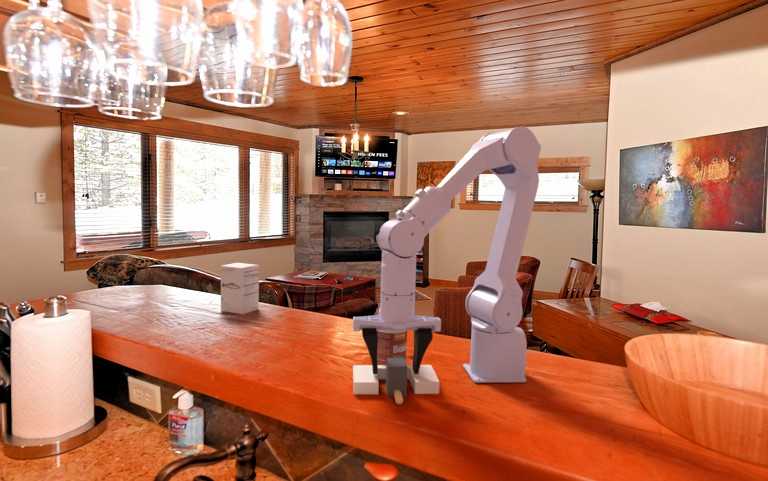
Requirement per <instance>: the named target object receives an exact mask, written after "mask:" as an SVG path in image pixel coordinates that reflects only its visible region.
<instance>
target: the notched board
mask: <svg viewBox="0 0 768 481" xmlns="http://www.w3.org/2000/svg"><path fill="white" fill-rule="evenodd" d="M379 380H386V365H378V374H373V368H372V364H363V365H361V364H359V365H358V364H356V365H355V364H354V365H352V383H353V385H352V386H353V387H352V388H353V390H354V391H353V395H379V387H380V386H379ZM407 380H409V381H410V384H411V386H412V389H413V393H414V395H415V394H416V395H425V394H427V395H428V394H429V395H431V394H432V395H433V394H434V395H435V394H437V395H439V394H440V385H441V384H440V380H439V377H438V376H437V374H436V372H435V369H434V368H433V366H432V364H421V365H420V368H419V374H414V372H413V364H407Z"/></svg>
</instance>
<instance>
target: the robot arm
mask: <svg viewBox="0 0 768 481" xmlns="http://www.w3.org/2000/svg"><path fill="white" fill-rule="evenodd" d="M541 150H542V146H541V144H540V142H539V140H538V139H537V137H536V135H535V134H534V132H533V131H532V130H531V129H529V128H528V127H526V126H516V127H514V128H512V129H506V130H502V131H498V132H489V133H486V134H484V135H483V136H481V138H480V139H479V141H476V142H475V143H473V145H472V146H471V148H470V149H469V150H468V152H466V154H465V155H464V156H463V157H462V158H461V159H460V160H459V161H458V163H457V164H456V165H455V166H454V167H453V168H452V169H451V171H449V172H448V174H447V175H446V176H445V177H444V178H443V179H442V180H441V181H440V182H439V183H438V185H437V186H425V188H419V189H417V191H415V193H414V195H415V197H414V198H413V199H412V200H411V201H410V202H409V204H407V205H406V207H404V208H403V209H402V210H401V209H398V210H397V212H395V214H394V215H395V216H396V217H395V218H396V219H390V220H388V221H386V222H384V223H383V224H382V225H381V227H380V229H379V233H378V234H377V235H376V236H375V237H376V242H377V245H378V247H379V248H380V250H381V265H380V266H381V269H380V302H379V303H380V304H379V305H380V306H379V309H380V315H379V314H377V315H367V316H366V315H364V316H353V317H352V319H353V320H352V331H353V332H360V331H361V335H362V338H363V341H364V343H365V346H366V348H367V350H368V351H367V352H368V354H369V356H370V359H371V360H370V361H371V363H372V364H371V365H372V368H373V374H378V365H377V347H378V336H377V330H407V331H413V355H412V356H413V357H412V365H413V372H414V374H419V368H420V365H422V364H421V363H422V362H423V358H424V355H425V354H426V351H427V349H428V348H429V346H430V344H431V343H432V341H433V338H434V337H433V336H434V334H433V332H441V331H442V330H441V329H442V319H441V318H440V317H437V316H424V315H423V316H422V315H415V304H416V278H417V276H416V275H417V272H416V271H417V253H418V252H421V250H422V248H423V246H424V244H425V238H426V236H428V234H430V233H431V231H432V230H434V228H436V226H437V225H438V224H440V222H441V221H442V220H443V219H445V217H446V216H447V215H448V214H449V213H450V212H451V210H452V200H453V199H455V197H457V195H459V194H460V193H461V192H463V190H464V189H466V188H467V187H468V186H469V185H470V184H471V183H472V182H473V181H474V180H476V178H478V177H479V176H480V175H481V174H482V173H483V172H484V171H487V170H488V171H490V172H491V173H492V174H494V175H495V176H496V177H497V178H498V179H499V180H500V182H501V183H502V185H503V187H504V192H503V196H502V200H501V205H500V209H499V212H498V216H497V221H496V226H495V230H494V233H493V237H492V241H491V246H490V248H489V249H490V250H489V254H488V257H487V262H486V266H485V270H483V272H482V273H481V274H480V275H479V276H477V277H475V280H474V284H473V286H472V288H471V289H470V291H469V292H468V294H467V295H466V298H465V304H464V306H465V310H466V312H467V314H468V315H469V316H470V322H471V333H470V334H471V336H470V337H471V338H470V356H469V357H470V358H469V363H463V364H462V367H463V369H465V371H466V372H467V374H468V375H469V377H470V378H471V380H472V381H473V382H474V383H475V384H476V383H477V384H478V383H479V384H480V383H485V384H486V383H526V382H527V378H526V366H527V365H526V364H527V349H528V348H527V346H528V345H527V336H526V334H525V331H524V329H522V328H521V327H518V325H519V324H520V322H521V320H522V319H523V318H522V317H523V306H522V305H523V304H522V299H523V295H524V292H523V289H522V287H521V286H520V284H519V282H518V281H517V279H516V278H517V274H518V270H519V266H520V262H521V258H522V253H523V249H524V246H525V242H526V238H527V233H528V230H529V226H530V222H531V217H532V213H533V209H534V205H535V201H536V196H537V193H538V188H539V184H540V177H539V168H538V162H539V157H540V152H541ZM432 331H433V332H432Z"/></svg>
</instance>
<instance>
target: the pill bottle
mask: <svg viewBox="0 0 768 481" xmlns="http://www.w3.org/2000/svg"><path fill="white" fill-rule="evenodd" d="M378 315H380V308H379V309H378ZM377 336H378V347H377V365H386V360H387V358H404V359H405V361H406V362H407V352H408V351H407V347H408V345H407V344H408V330H377Z"/></svg>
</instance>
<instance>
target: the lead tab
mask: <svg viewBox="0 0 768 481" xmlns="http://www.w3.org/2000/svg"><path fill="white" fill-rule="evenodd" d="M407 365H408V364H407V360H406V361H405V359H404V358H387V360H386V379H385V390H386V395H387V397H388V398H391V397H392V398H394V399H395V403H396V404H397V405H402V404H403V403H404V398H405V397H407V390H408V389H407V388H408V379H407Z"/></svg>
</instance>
